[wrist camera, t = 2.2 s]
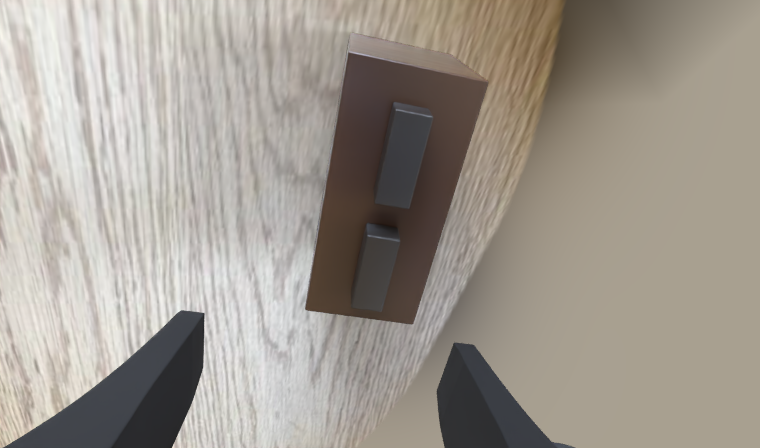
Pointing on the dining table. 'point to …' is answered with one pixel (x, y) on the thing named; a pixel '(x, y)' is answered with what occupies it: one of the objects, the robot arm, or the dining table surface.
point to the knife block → (390, 177)
